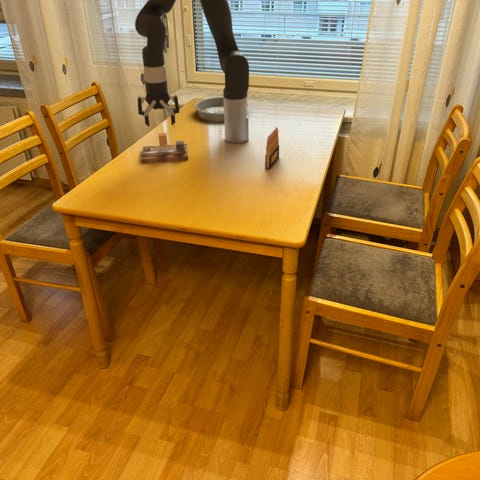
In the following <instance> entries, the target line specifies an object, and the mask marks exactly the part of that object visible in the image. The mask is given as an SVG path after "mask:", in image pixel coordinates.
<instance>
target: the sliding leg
mask: <svg viewBox="0 0 480 480" xmlns="http://www.w3.org/2000/svg"><path fill="white" fill-rule="evenodd" d="M167 136H168V135H167V132H163V133H158V144H159V146H160V153H161V152H169V148H168V145H169V143H168V137H167Z"/></svg>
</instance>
